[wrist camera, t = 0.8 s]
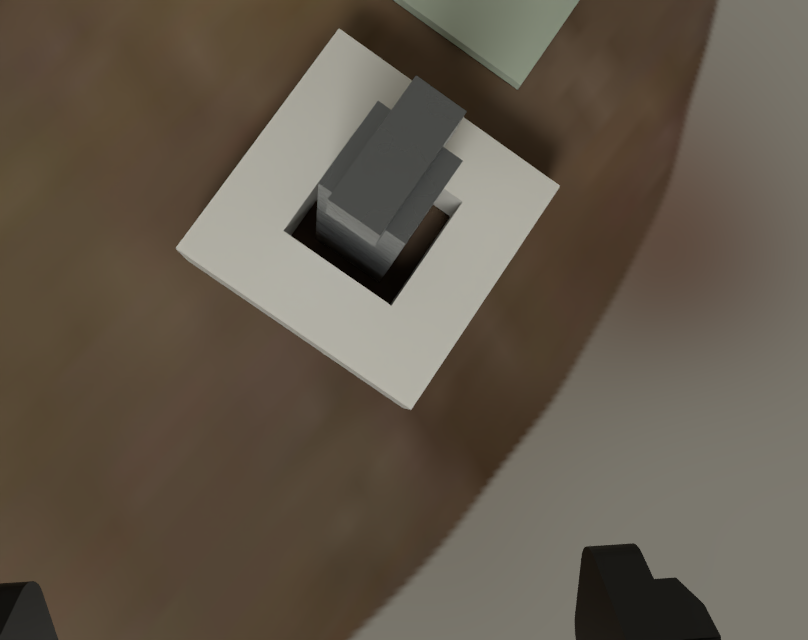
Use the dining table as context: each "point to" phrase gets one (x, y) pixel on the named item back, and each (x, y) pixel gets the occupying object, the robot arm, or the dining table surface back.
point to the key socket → (327, 285)
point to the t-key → (388, 178)
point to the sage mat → (496, 29)
